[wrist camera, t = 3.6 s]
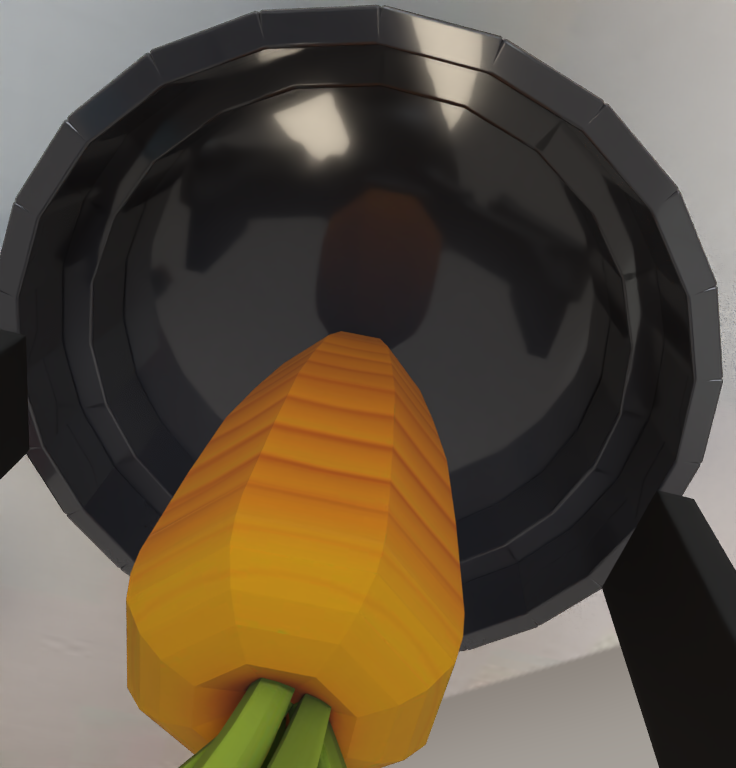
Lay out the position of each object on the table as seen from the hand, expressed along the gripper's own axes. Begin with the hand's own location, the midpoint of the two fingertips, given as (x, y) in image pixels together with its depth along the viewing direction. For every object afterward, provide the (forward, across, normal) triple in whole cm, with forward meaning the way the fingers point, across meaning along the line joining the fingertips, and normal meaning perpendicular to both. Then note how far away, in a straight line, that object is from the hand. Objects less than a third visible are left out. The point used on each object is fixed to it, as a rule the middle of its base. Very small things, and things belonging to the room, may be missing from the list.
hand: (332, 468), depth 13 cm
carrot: (+6, 0, 0) cm, 6 cm away
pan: (+6, 0, 0) cm, 6 cm away
